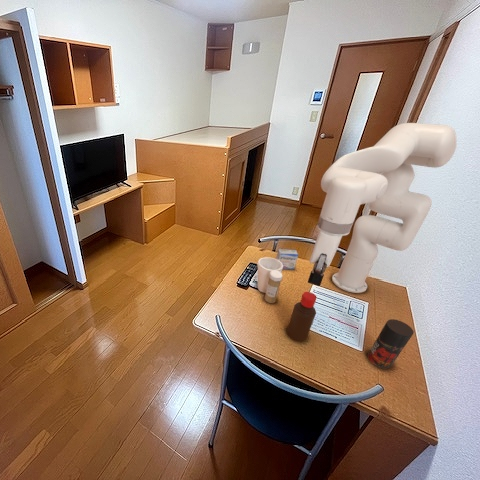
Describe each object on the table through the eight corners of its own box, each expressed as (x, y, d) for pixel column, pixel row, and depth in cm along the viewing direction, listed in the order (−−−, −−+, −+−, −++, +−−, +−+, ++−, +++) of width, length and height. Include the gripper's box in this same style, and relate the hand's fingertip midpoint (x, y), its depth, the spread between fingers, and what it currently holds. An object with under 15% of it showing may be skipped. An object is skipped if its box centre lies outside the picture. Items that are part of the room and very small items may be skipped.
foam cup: (252, 292, 109) (257, 267, 103) (254, 279, 117) (259, 255, 110) (276, 298, 106) (283, 272, 99) (277, 284, 113) (283, 259, 107)
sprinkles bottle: (278, 300, 105) (285, 274, 98) (271, 305, 103) (277, 279, 96) (268, 294, 108) (274, 268, 101) (261, 298, 106) (267, 272, 99)
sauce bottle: (295, 324, 94) (308, 287, 85) (311, 337, 89) (325, 300, 80) (282, 330, 92) (293, 293, 83) (297, 344, 87) (310, 306, 78)
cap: (306, 297, 85) (309, 290, 84) (316, 305, 82) (319, 297, 81) (297, 301, 84) (300, 293, 82) (307, 309, 81) (310, 301, 79)
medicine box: (276, 268, 122) (280, 253, 118) (274, 263, 126) (278, 248, 122) (294, 269, 121) (298, 254, 117) (291, 264, 125) (295, 249, 120)
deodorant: (362, 352, 84) (381, 320, 76) (380, 350, 84) (400, 318, 76) (377, 369, 78) (399, 337, 71) (396, 367, 79) (419, 334, 71)
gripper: (323, 209, 76) (308, 259, 85) (312, 234, 65) (295, 288, 74) (354, 215, 72) (334, 266, 81) (347, 242, 61) (325, 299, 70)
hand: (316, 276), depth 77 cm, fingers open, 6 cm apart
